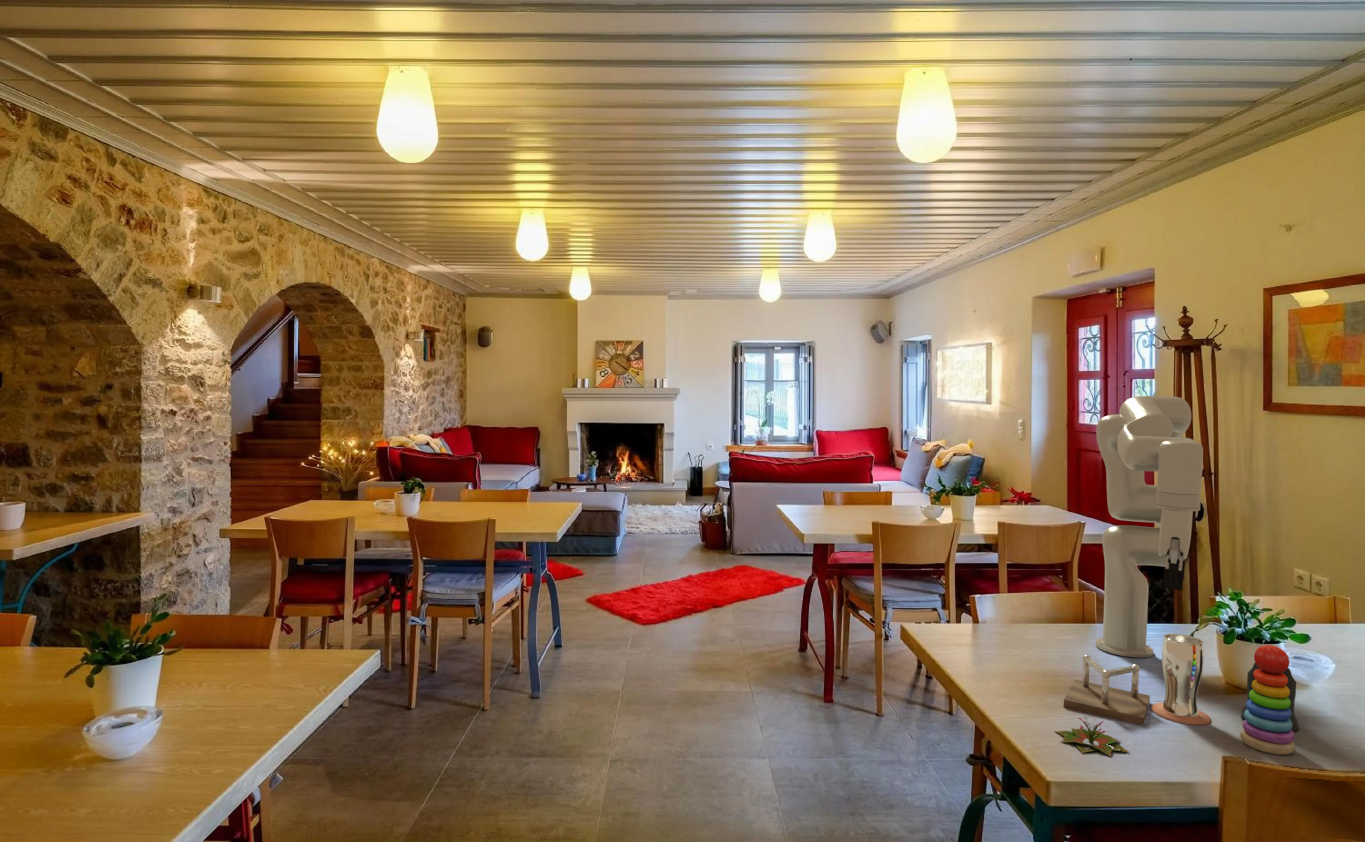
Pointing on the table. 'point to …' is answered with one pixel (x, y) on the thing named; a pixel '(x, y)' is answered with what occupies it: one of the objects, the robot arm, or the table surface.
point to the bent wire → (1106, 674)
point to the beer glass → (1182, 674)
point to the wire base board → (1117, 706)
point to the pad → (1200, 720)
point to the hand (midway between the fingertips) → (1173, 583)
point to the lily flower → (1091, 739)
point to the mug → (1292, 688)
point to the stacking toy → (1269, 704)
